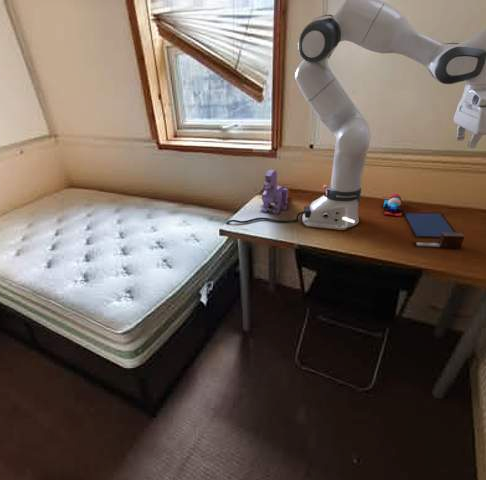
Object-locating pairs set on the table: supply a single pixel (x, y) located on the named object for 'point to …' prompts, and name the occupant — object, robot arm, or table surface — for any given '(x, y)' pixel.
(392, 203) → the toy figure
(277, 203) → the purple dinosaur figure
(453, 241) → the letter opener
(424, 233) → the desk mat
